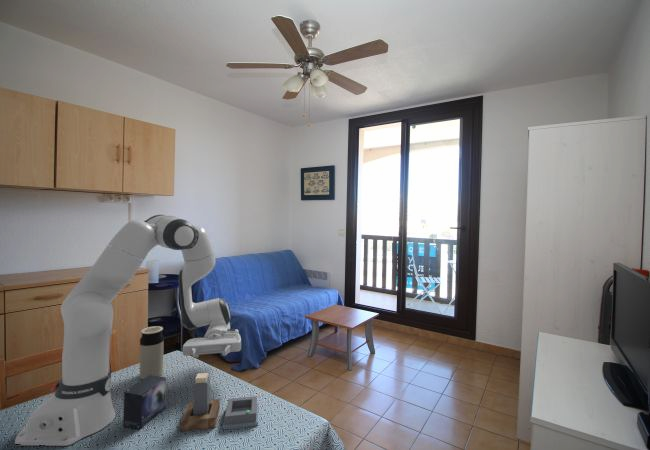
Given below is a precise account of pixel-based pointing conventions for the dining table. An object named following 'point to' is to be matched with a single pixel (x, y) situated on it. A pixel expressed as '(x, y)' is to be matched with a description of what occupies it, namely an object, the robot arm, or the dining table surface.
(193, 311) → the robot arm
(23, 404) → the dining table surface
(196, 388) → the plug
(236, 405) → the dock
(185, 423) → the frame
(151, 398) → the small box
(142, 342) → the travel mug
